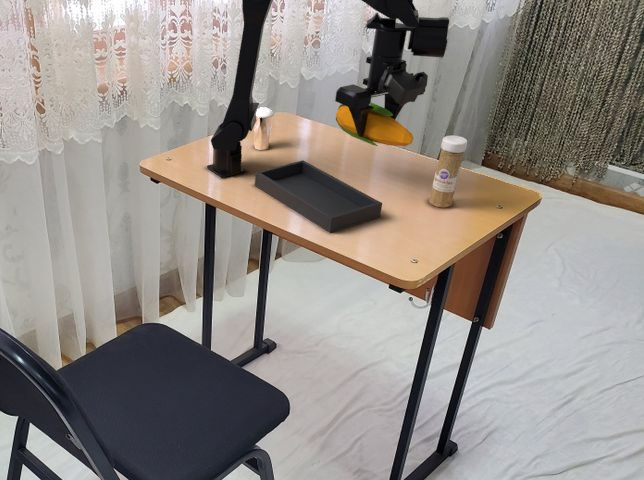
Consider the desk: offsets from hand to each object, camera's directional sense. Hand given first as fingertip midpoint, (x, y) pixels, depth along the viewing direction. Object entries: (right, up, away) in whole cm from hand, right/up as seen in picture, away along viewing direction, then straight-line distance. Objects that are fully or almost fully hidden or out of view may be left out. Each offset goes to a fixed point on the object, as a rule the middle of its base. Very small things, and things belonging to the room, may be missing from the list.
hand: (373, 133), depth 149 cm
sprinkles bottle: (+13, -15, -1) cm, 20 cm away
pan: (-12, -14, 0) cm, 18 cm away
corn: (0, -2, +1) cm, 2 cm away
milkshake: (-21, +3, +23) cm, 31 cm away
